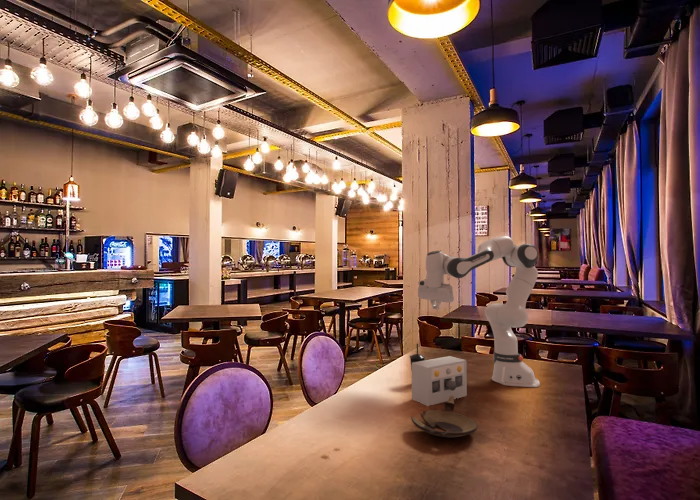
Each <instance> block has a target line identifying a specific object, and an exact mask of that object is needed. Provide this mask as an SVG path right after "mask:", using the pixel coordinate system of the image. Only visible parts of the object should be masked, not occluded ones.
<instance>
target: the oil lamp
mask: <svg viewBox="0 0 700 500" xmlns="http://www.w3.org/2000/svg"><path fill="white" fill-rule="evenodd" d="M454 409H455V399H454V397H453V396H450V398H449V400H448V401H446V402H444V409H442V410H441V409H440V410H438V409H425V410H423V411H422V412H421V413H420V414H419V415H420V417H421V419H423V421H424V422H425V423H426V424H427V425H426V424H424V423H423V422H421V421H420V420H418V419H417V418H416V417H414V416H413V415H412V416H411V418H410V419H411V421H412V422H411V423H413V425H415V426H416V427H417V428H418V429H419V430H421V431H422V432H425V433H427V434H430V435H432V436H437V437H441V438H447V439H448V438H449V439H450V438H459V437H464V436H468V435H470V434H473V433H474V432H476V431H477V430H478V423H477V422H476V420H474V419H472V418H471V417H469V416H467V415H464V414H462V413H459V412H455V410H454ZM436 427H438V428H439V429H441V430H443V431H441V430H437V429H435V428H436Z"/></svg>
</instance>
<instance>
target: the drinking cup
mask: <svg viewBox="0 0 700 500" xmlns="http://www.w3.org/2000/svg"><path fill="white" fill-rule="evenodd" d="M409 358H410V367H411V368H410V370H411V372H412V363H413V362H419V361H424V360H425V359H426V356H425V355H423V354H421V353H420V354H419V343H416V353H413V354H412V355H409Z"/></svg>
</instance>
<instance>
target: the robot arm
mask: <svg viewBox="0 0 700 500" xmlns="http://www.w3.org/2000/svg"><path fill="white" fill-rule="evenodd" d="M477 247H478V248H477V253H475V254H473V255H470V256H468V257H454V256H451V255H448V254H445V253H444V252H442V251H441V250H434V251H429V252H428V253H426V257H425V271H426V275H425V278H424V279H423V280H419V281H418V282H417V283H418V288H417V295H418V299H422V300H426V301H427V300H429V301H430V304H431V306H432V307H431V308H432V309H433V310H440V305H441V303H446V304H447V303H448V304H450V303H453V302H454V299H455V298H454V297H455V296H454V292H453V286H452V285H451V284H450V283H445V281H444V280H445V278H444V276H445V275H448V276H451V277H454V278H456V279H462V278H464V277H466V276H467V275H468V274H469V273H470V272H471V271H473V270H474V269H476V268H477V269H478V268H479V267H481V266H484V265H485V264H487V263H490V262H494V261H496V260H498V259H502V261H503V263H504V264H505V266H507V267H509V268H515V273H514V275H513V276H512V277H511V280H510V281H509V283H508V285H507V286H506V290H505V294H506V296H507V300H506V302H505V303H500V302H499V303H498V302H496V303H491V304H488V305H487V306H486V308H485V310H484V316H485V318H486V319H487V321H488V322H489V325H490V327H491V331H492V334H493V338H494V339H493V341H494V344H493V345H494V351H493V364H494V365H493V372H492V376H491V380H492V381H493V382H496V383H498V384H500V385H503V386H506V387H507V386H510V387H526V388H539V387H540V385H541V382H540V380H539V379H538V378H536V376H535V373H534V371H533V369H532V368H531V367H530V366H529V365H527V364H526V363H525V362H523V360H524V357H523V356H522V354H521V353H519V352H518V351H519V349H518V347H519V345H518V338H517V336H516V335H515V333H514V331H513V330H512V328H515V329H516V328H522V327H525V326H526V325H527V323H528V321H529V314H528V312H527V310H526V304H527V300H528V298H529V297H530V295H531V292H532V291H533V289H534V286H535V285H536V282H537V279H538V276H539V271H538V269H537V268H536V267H535V266H537V264H538V259H539V250H538V248H537V247H536V246H535V245H533V244H530V243H523V244H519V245H518V244H517V245H516V244H515V243H514V240H513V239H512V238H511V237H510V236H508V235H504V236H503V235H502V236H497V237H494V238H491V239H488V240H485V241H483V242H481V243H480V244H479V245H478V246H477ZM435 302H436V303H435Z"/></svg>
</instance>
